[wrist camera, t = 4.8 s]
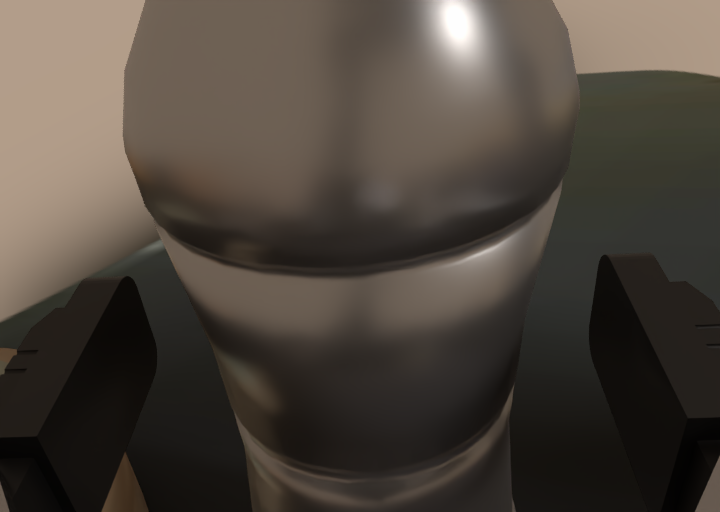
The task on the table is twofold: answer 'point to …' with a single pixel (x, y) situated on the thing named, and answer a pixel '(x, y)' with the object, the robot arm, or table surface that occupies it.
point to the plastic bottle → (358, 228)
